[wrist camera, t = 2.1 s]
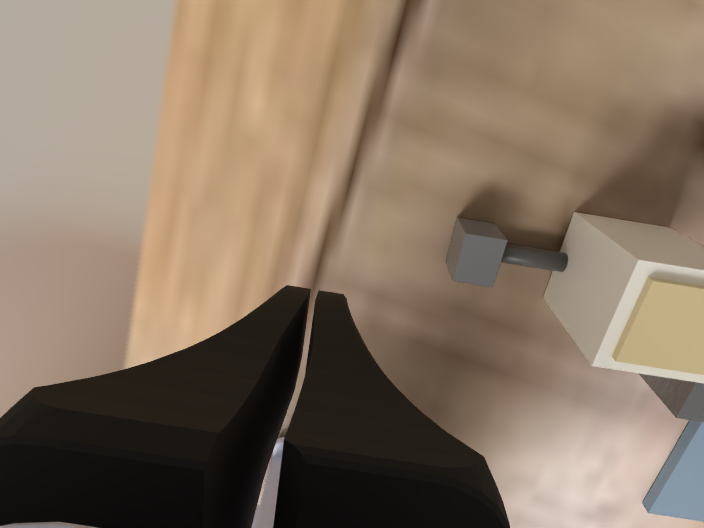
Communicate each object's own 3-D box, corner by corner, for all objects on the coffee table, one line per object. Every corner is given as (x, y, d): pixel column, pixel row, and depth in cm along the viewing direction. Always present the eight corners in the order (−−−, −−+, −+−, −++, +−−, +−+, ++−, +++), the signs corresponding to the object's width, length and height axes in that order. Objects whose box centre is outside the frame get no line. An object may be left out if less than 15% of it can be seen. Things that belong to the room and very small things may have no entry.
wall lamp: (440, 281, 20) (460, 350, 15) (462, 194, 19) (493, 239, 14) (631, 312, 20) (711, 389, 16) (670, 227, 19) (772, 284, 14)
